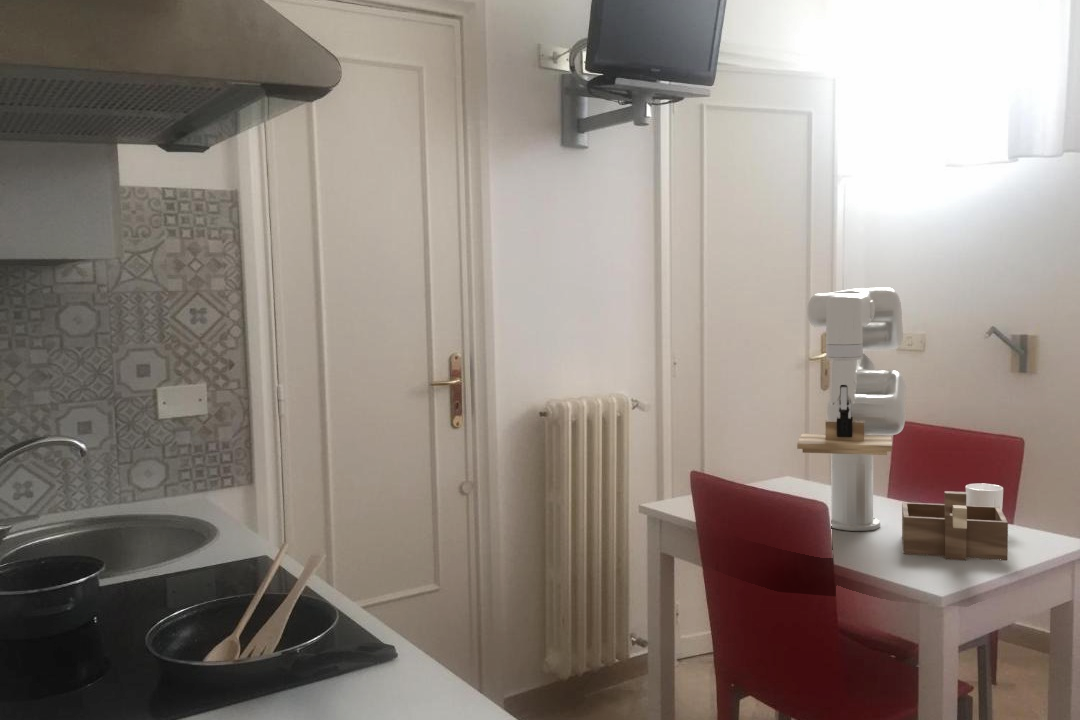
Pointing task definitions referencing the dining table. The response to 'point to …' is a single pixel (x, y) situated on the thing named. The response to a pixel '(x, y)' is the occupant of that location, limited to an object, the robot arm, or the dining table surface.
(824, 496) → the dining table surface
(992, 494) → the white cup
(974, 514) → the toolbox
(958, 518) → the wooden key
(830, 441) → the lid
